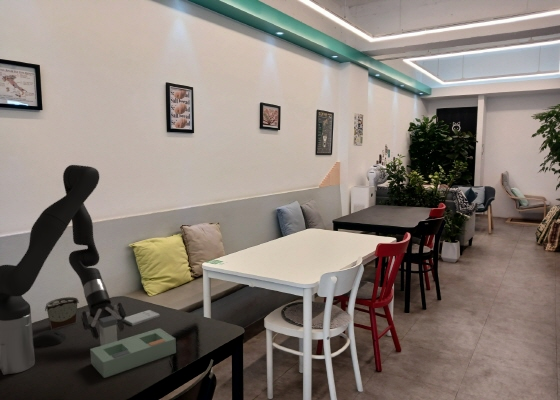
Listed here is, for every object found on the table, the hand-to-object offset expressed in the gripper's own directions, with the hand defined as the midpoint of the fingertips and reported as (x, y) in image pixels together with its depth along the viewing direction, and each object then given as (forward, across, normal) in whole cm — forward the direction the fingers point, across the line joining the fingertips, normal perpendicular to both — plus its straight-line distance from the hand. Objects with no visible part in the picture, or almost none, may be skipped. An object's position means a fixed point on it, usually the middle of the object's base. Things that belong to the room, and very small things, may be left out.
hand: (109, 334), depth 149 cm
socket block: (+13, +3, -6) cm, 15 cm away
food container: (-21, -7, +28) cm, 35 cm away
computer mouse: (-11, -16, +18) cm, 26 cm away
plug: (+3, 0, +4) cm, 5 cm away
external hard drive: (-9, +19, +17) cm, 27 cm away
